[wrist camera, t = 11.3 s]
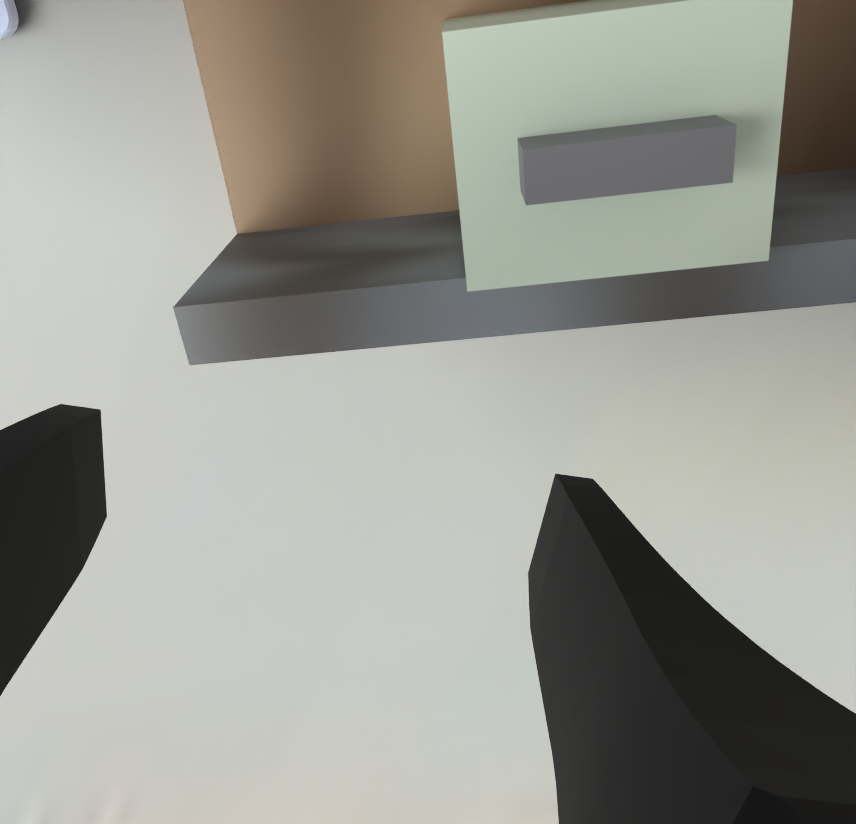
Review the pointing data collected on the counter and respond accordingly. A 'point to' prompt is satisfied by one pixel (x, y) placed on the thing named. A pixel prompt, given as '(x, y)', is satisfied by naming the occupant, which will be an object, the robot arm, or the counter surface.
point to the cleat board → (453, 188)
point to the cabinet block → (615, 136)
